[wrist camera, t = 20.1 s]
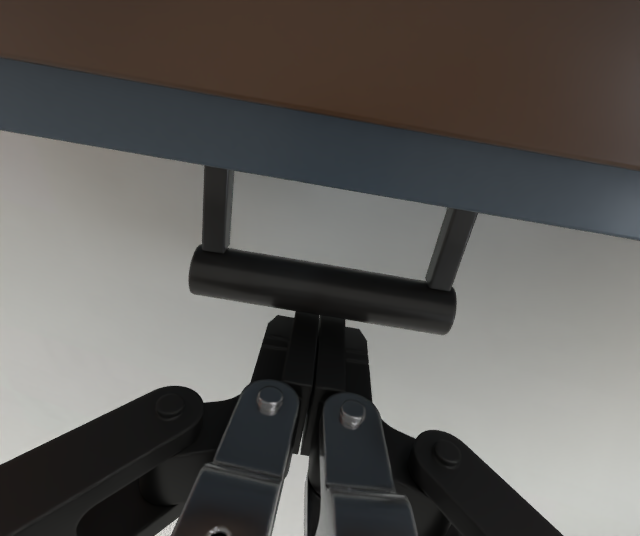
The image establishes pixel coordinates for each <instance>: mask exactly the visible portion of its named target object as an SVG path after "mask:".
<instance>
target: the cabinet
mask: <svg viewBox="0 0 640 536" xmlns="http://www.w3.org/2000/svg"><path fill="white" fill-rule="evenodd" d="M0 58H4V59H10V60H15V61H21V62H27V63H32V64H38V65H43V66H49V67H55V68H60V69H66V70H72V71H77V72H83V73H89V74H94V75H100V76H105V77H111V78H117V79H122V80H128V81H134V82H139V83H145V84H151V85H156V86H162V87H167V88H173V89H179V90H184V91H190V92H196V93H201V94H207V95H213V96H218V97H224V98H229V99H235V100H241V101H246V102H252V103H258V104H263V105H269V106H274V107H280V108H286V109H291V110H297V111H303V112H308V113H314V114H320V115H325V116H331V117H336V118H342V119H348V120H353V121H359V122H365V123H370V124H376V125H382V126H387V127H393V128H398V129H404V130H410V131H415V132H421V133H427V134H432V135H438V136H444V137H449V138H455V139H460V140H466V141H472V142H477V143H483V144H489V145H494V146H500V147H506V148H511V149H517V150H522V151H528V152H534V153H539V154H545V155H551V156H556V157H562V158H567V159H573V160H579V161H584V162H590V163H596V164H601V165H607V166H613V167H618V168H624V169H629V170H635V171H640V0H0Z"/></svg>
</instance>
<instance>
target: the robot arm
mask: <svg viewBox="0 0 640 536" xmlns="http://www.w3.org/2000/svg"><path fill="white" fill-rule="evenodd" d="M368 363H369V360H368V349H367V340H366V339H365V337H364V336H363V334H362V333H361V331H360V330H359V329H355V328H350V327H345V319H341V318H335V317H329V316H323V315H320V317H319V315H317V314H311V313H304V312H298V311H296V312H295V317H294V318H292V317H286V316H280V315H277V316H276V317H275V318H274V319H273V320H272V321H270V322H269V323H268V326H267V329H266V332H265V337H264V339H263V343H262V346H261V349H260V353H259V356H258V359H257V363H256V366H255V369H254V373H253V376H252V379H251V382H250V384H249V385H248V386H246V387H245V388H244V389H243V391H242V393H241V394H240V395H238V396H236V397H234V398H232V399H228V400H225V401H218V402H207V403H203V400H202V398H201V397H200V396H199V394H198V393H196V392H195V391H193V390H192V389H189V388H187V387H182V386H167V387H162V388H159V389H156V390H154V391H152V392H150V393H148V394H146V395H144V396H142V397H139V398H137V399H135V400H133V401H131V402H129V403H127V404H125V405H123V406H121V407H119V408H117V409H115V410H113V411H111V412H109V413H106V414H104V415H102V416H100V417H98V418H96V419H94V420H92V421H90V422H88V423H86V424H84V425H82V426H80V427H78V428H76V429H74V430H71V431H69V432H67V433H65V434H63V435H61V436H59V437H57V438H55V439H53V440H51V441H49V442H47V443H45V444H43V445H41V446H38V447H36V448H34V449H32V450H30V451H28V452H26V453H24V454H22V455H20V456H18V457H16V458H14V459H12V460H10V461H8V462H5V463H3V464H1V465H0V536H155V535H156V534H157V533H159V532H160V531H161V530H163V529H164V528H165V527H166V526H168V525H169V524H170V523H172V522H173V521H174V520H176V519H177V518H178V517H179V518H178V521H177V523H176V525H175V527H174V530H173V532H172V534H171V536H272V531H273V527H274V523H275V518H276V514H277V510H278V505H279V501H280V496H281V492H282V488H283V483H284V479H285V477H286V476H287V474H288V471H289V467H290V462H291V457H292V453H293V454H298V451H299V447H300V442H301V437H302V445H301V454H300V455H306V456H309V466H308V472H307V477H306V481H305V492H304V536H563V535H562V534H561V533H560V532H559V531H558V530H557V529H556V528H555V527H554V526H553V525H551V524H550V523H549V522H548V521H547V520H546V519H545V518H544V517H543V516H542V515H541V514H540V513H539V512H537V511H536V510H535V509H534V508H533V507H532V506H531V505H530V504H529V503H528V502H527V501H526V500H525V499H524V498H522V497H521V496H520V495H519V494H518V493H517V492H516V491H515V490H514V489H513V488H512V487H511V486H510V485H508V484H507V483H506V482H505V481H504V480H503V479H502V478H501V477H500V476H499V475H498V474H497V473H496V472H494V471H493V470H492V469H491V468H490V467H489V466H488V465H487V464H486V463H485V462H484V461H483V460H482V459H480V458H479V457H478V456H477V455H476V454H475V453H474V452H473V451H472V450H471V449H470V448H469V447H468V446H466V445H465V444H464V443H463V442H462V441H461V440H459V439H458V438H456V437H455V436H453V435H451V434H449V433H446V432H443V431H438V430H428V431H425V432H422V433H421V434H420V435H418V437H417V438H416V439H415V438H413V437H410V436H408V435H406V434H404V433H401V432H399V431H397V430H395V429H393V428H392V427H390V426H389V425H387V424H386V423H385V422H384V421H383V420H382V419H381V416H380V413H379V411H378V409H377V408H376V406H375V405H374V404H373V403H372V393H371V382H370V371H369V365H368ZM302 433H303V436H302Z"/></svg>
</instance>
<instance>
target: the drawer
mask: <svg viewBox="0 0 640 536" xmlns="http://www.w3.org/2000/svg"><path fill="white" fill-rule="evenodd" d="M0 130H2V131H8V132H14V133H20V134H25V135H31V136H37V137H43V138H49V139H54V140H60V141H66V142H72V143H77V144H83V145H89V146H95V147H101V148H106V149H112V150H118V151H124V152H130V153H135V154H141V155H147V156H153V157H158V158H164V159H170V160H176V161H182V162H187V163H193V164H199V165H204V195H203V228H202V244H200V245H199V246H198V247H197V248H196V250H195V252H194V255H193V257H192V260H191V264H190V270H189V289H190V292H191V293H193V294H195V295H201V296H207V297H213V298H220V299H226V300H232V301H238V302H244V303H250V304H256V305H262V306H268V307H274V308H280V309H286V310H292V311H298V312H304V313H311V314H317V315H323V316H329V317H335V318H341V319H347V320H353V321H359V322H365V323H371V324H377V325H383V326H389V327H396V328H402V329H408V330H414V331H420V332H426V333H432V334H438V335H445V334H447V333H448V332H449V331H450V329H451V327H452V325H453V322H454V318H455V314H456V305H457V301H456V293H455V290H454V288H453V287H452V285H453V282H454V279H455V276H456V273H457V271H458V268H459V265H460V262H461V259H462V256H463V254H464V251H465V248H466V245H467V242H468V240H469V237H470V234H471V231H472V228H473V226H474V223H475V220H476V217H477V214H478V213H482V214H488V215H494V216H500V217H505V218H511V219H517V220H523V221H528V222H534V223H540V224H546V225H552V226H557V227H563V228H569V229H575V230H580V231H586V232H592V233H598V234H604V235H609V236H615V237H621V238H627V239H633V240H638V241H640V171H635V170H629V169H624V168H618V167H613V166H607V165H601V164H596V163H590V162H584V161H579V160H573V159H567V158H562V157H556V156H551V155H545V154H539V153H534V152H528V151H522V150H517V149H511V148H506V147H500V146H494V145H489V144H483V143H477V142H472V141H466V140H460V139H455V138H449V137H444V136H438V135H432V134H427V133H421V132H415V131H410V130H404V129H398V128H393V127H387V126H382V125H376V124H370V123H365V122H359V121H353V120H348V119H342V118H336V117H331V116H325V115H320V114H314V113H308V112H303V111H297V110H291V109H286V108H280V107H274V106H269V105H263V104H258V103H252V102H246V101H241V100H235V99H229V98H224V97H218V96H213V95H207V94H201V93H196V92H190V91H184V90H179V89H173V88H167V87H162V86H156V85H151V84H145V83H139V82H134V81H128V80H122V79H117V78H111V77H105V76H100V75H94V74H89V73H83V72H77V71H72V70H66V69H60V68H55V67H49V66H43V65H38V64H32V63H27V62H21V61H15V60H10V59H4V58H0ZM234 171H239V172H245V173H251V174H257V175H262V176H268V177H274V178H280V179H286V180H291V181H297V182H303V183H309V184H315V185H320V186H326V187H332V188H338V189H343V190H349V191H355V192H361V193H367V194H372V195H378V196H384V197H390V198H395V199H401V200H407V201H413V202H419V203H424V204H430V205H436V206H442V207H447V211H446V214H445V217H444V220H443V224H442V227H441V230H440V233H439V236H438V239H437V243H436V246H435V249H434V252H433V255H432V258H431V261H430V265H429V268H428V271H427V274H426V277H425V278H426V281H422V280H416V279H410V278H404V277H398V276H392V275H386V274H380V273H374V272H368V271H362V270H357V269H351V268H345V267H339V266H333V265H327V264H321V263H315V262H309V261H303V260H297V259H291V258H285V257H279V256H273V255H267V254H261V253H255V252H249V251H243V250H238V249H232V248H228V246H229V245H230V230H231V214H232V198H233V183H234Z"/></svg>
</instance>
